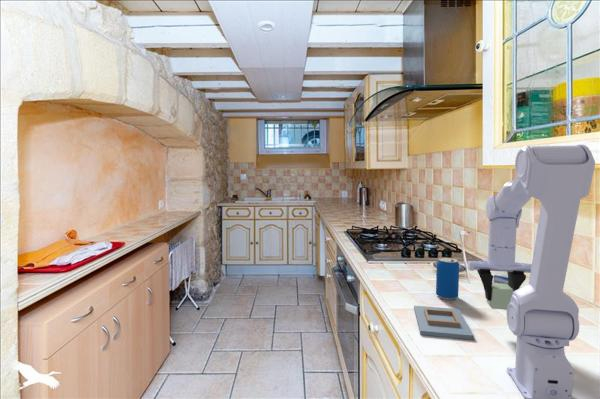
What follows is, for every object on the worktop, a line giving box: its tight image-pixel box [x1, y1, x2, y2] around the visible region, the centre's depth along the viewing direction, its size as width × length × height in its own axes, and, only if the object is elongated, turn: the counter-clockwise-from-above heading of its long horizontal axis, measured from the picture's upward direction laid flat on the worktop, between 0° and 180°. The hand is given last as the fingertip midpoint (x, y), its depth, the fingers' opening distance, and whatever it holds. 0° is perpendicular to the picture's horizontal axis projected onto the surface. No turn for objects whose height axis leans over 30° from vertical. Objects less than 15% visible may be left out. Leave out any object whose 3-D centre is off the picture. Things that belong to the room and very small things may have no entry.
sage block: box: [486, 282, 513, 311], centre depth 85 cm, size 4×4×5 cm
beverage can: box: [435, 256, 460, 301], centre depth 108 cm, size 6×6×12 cm
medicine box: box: [492, 271, 508, 285], centre depth 105 cm, size 8×4×9 cm, turn 141°
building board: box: [413, 305, 475, 341], centre depth 90 cm, size 16×12×2 cm
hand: (499, 300), depth 85 cm, fingers closed on sage block, 4 cm apart
